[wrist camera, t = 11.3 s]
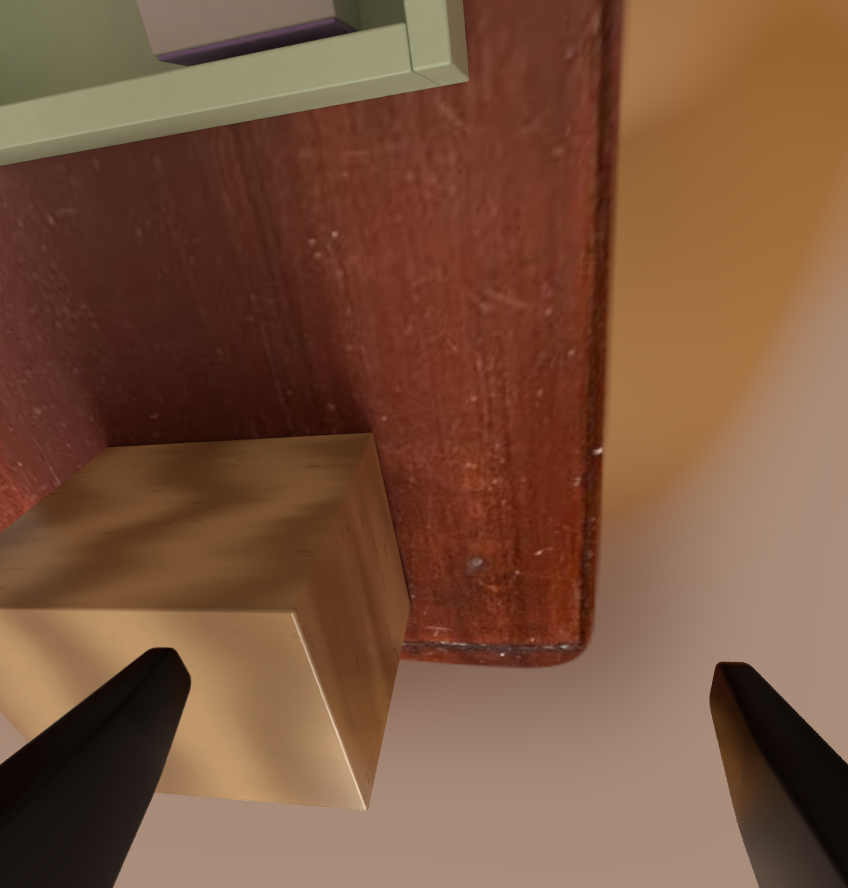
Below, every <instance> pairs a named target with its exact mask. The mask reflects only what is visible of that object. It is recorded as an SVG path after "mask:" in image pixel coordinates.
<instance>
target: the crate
mask: <svg viewBox="0 0 848 888" xmlns="http://www.w3.org/2000/svg"><path fill="white" fill-rule="evenodd" d="M409 611H410V601H409V596H408V592H407V587H406V583H405V578H404V573H403V569H402V564H401V559H400V555H399V550H398V546H397V541H396V536H395V532H394V527H393V522H392V518H391V513H390V509H389V504H388V499H387V495H386V490H385V485H384V481H383V476H382V472H381V467H380V462H379V458H378V453H377V448H376V444H375V439H374V435H373V433H355V434H337V435H319V436H301V437H283V438H265V439H248V440H230V441H212V442H194V443H176V444H158V445H140V446H122V447H107V448H106V449H104V450H103V451H102V452H101V453H99V454H98V455H97V456H96V457H95V458H93V459H92V460H91V461H90V462H88V463H87V464H86V465H85V466H83V467H82V468H81V469H80V470H78V471H77V472H76V473H75V474H73V475H72V476H71V477H70V478H68V479H67V480H66V481H65V482H63V483H62V484H61V485H60V486H59V487H57V488H56V489H55V490H54V491H52V492H51V493H50V494H49V495H47V496H46V497H45V498H44V499H42V500H41V501H40V502H39V503H37V504H36V505H35V506H34V507H32V508H31V509H30V510H29V511H28V512H26V513H25V514H24V515H23V516H21V517H20V518H19V519H18V520H16V521H15V522H14V523H13V524H11V525H10V526H9V527H8V528H6V529H5V530H4V531H3V532H1V533H0V712H1V713H2V714H3V715H4V716H5V717H6V718H7V720H8V721H9V722H10V723H11V724H12V725H13V726H14V727H15V728H16V730H17V731H18V732H19V733H20V734H21V735H22V736H23V738H24V739H25V740H26V741H27V742H28V743H29V742H30V741H31V740H32V739H34V738H35V737H36V736H38V735H39V734H40V733H41V732H43V731H44V730H45V729H47V728H48V727H49V726H50V725H52V724H53V723H54V722H56V721H57V720H58V719H59V718H61V717H62V716H63V715H65V714H66V713H67V712H68V711H70V710H71V709H72V708H74V707H75V706H76V705H77V704H79V703H80V702H81V701H83V700H84V699H85V698H86V697H88V696H89V695H90V694H92V693H93V692H94V691H95V690H97V689H98V688H99V687H101V686H102V685H103V684H104V683H106V682H107V681H108V680H110V679H111V678H112V677H113V676H115V675H116V674H117V673H119V672H120V671H121V670H122V669H124V668H125V667H126V666H128V665H129V664H130V663H131V662H133V661H134V660H135V659H137V658H138V657H139V656H140V655H142V654H143V653H144V652H146V651H147V650H149V649H151V648H154V647H170V648H174V649H175V650H176V651H177V652H178V653H179V655H180V657H181V659H182V661H183V662H184V664H185V666H186V668H187V670H188V671H189V673H190V675H191V689H190V693H189V696H188V699H187V702H186V705H185V708H184V711H183V714H182V717H181V720H180V723H179V726H178V728H177V731H176V734H175V737H174V740H173V743H172V746H171V749H170V752H169V755H168V758H167V761H166V764H165V767H164V769H163V772H162V775H161V778H160V780H159V783H158V785H157V787H156V790H155V793H167V794H178V795H190V796H202V797H213V798H225V799H237V800H248V801H261V802H272V803H283V804H295V805H307V806H319V807H330V808H342V809H354V810H368V807H369V802H370V797H371V793H372V788H373V783H374V778H375V773H376V769H377V764H378V759H379V754H380V749H381V745H382V740H383V735H384V730H385V726H386V721H387V716H388V711H389V706H390V702H391V697H392V692H393V687H394V682H395V678H396V673H397V668H398V663H399V659H400V654H401V649H402V644H403V639H404V635H405V630H406V625H407V620H408V615H409Z"/></svg>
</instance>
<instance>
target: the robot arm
mask: <svg viewBox="0 0 848 888" xmlns="http://www.w3.org/2000/svg"><path fill="white" fill-rule="evenodd" d="M190 689H191V675H190V673H189V671H188V670H187V668H186V666H185V664H184V662H183V661H182V659H181V657H180V655H179V653H178V652H177V651H176V650H175V649H174V648H170V647H154V648H151V649H149V650H147V651H146V652H144V653H143V654H142V655H140V656H139V657H138V658H137V659H135V660H134V661H133V662H131V663H130V664H129V665H128V666H126V667H125V668H124V669H122V670H121V671H120V672H119V673H117V674H116V675H115V676H113V677H112V678H111V679H110V680H108V681H107V682H106V683H104V684H103V685H102V686H101V687H99V688H98V689H97V690H95V691H94V692H93V693H92V694H90V695H89V696H88V697H86V698H85V699H84V700H83V701H81V702H80V703H79V704H77V705H76V706H75V707H74V708H72V709H71V710H70V711H68V712H67V713H66V714H65V715H63V716H62V717H61V718H59V719H58V720H57V721H56V722H54V723H53V724H52V725H50V726H49V727H48V728H47V729H45V730H44V731H43V732H41V733H40V734H39V735H38V736H36V737H35V738H34V739H32V740H31V741H30V742H29V743H27V744H26V745H25V746H24V747H22V748H21V749H20V750H19V751H17V752H16V753H15V754H13V755H12V756H11V757H9V758H8V759H7V760H6V761H4V762H3V763H2V764H0V888H113V886H114V884H115V882H116V879H117V877H118V875H119V872H120V870H121V868H122V865H123V863H124V861H125V859H126V856H127V854H128V852H129V850H130V847H131V845H132V843H133V840H134V838H135V836H136V834H137V831H138V829H139V827H140V824H141V822H142V820H143V818H144V815H145V813H146V810H147V808H148V806H149V804H150V802H151V799H152V797H153V794H154V792H155V790H156V787H157V785H158V783H159V780H160V778H161V775H162V772H163V769H164V767H165V764H166V761H167V758H168V755H169V752H170V749H171V746H172V743H173V740H174V737H175V734H176V731H177V728H178V726H179V723H180V720H181V717H182V714H183V711H184V708H185V705H186V702H187V699H188V696H189V693H190ZM710 709H711V714H712V719H713V723H714V727H715V731H716V735H717V740H718V743H719V748H720V752H721V757H722V761H723V765H724V769H725V774H726V778H727V782H728V786H729V790H730V795H731V799H732V803H733V807H734V811H735V815H736V819H737V823H738V826H739V829H740V832H741V835H742V839H743V842H744V845H745V848H746V851H747V854H748V856H749V859H750V862H751V865H752V868H753V870H754V873H755V877H756V880H757V883H758V885H759V888H848V764H847V763H846V762H845V761H844V760H843V759H842V758H841V757H840V756H839V755H838V754H837V753H836V752H835V751H834V750H833V749H832V748H831V747H830V746H829V745H828V744H827V743H826V742H825V741H824V740H823V739H822V738H821V736H819V734H818V733H816V731H814V729H813V728H812V727H811V726H810V725H809V724H808V723H807V722H806V721H805V720H804V719H803V718H802V717H801V716H800V715H799V714H798V713H797V712H796V711H795V710H794V709H793V708H792V707H791V706H790V705H789V704H788V703H787V702H786V701H785V700H784V699H783V698H782V697H781V696H780V695H779V694H778V693H777V692H776V690H775V689H774V688H773V687H772V686H771V685H770V684H769V683H768V682H767V681H766V680H765V679H764V678H763V677H762V676H761V675H760V674H759V673H758V672H757V671H756V670H755V669H754V668H753V667H752V666H750V665H749V664H747V663H744V662H719V663H718V664H717V665H716V667H715V672H714V676H713V681H712V686H711V692H710Z"/></svg>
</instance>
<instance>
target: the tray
mask: <svg viewBox="0 0 848 888" xmlns="http://www.w3.org/2000/svg"><path fill="white" fill-rule="evenodd" d="M357 1H358V7H359V13H360V20H361V26H362V31H358V32H353V33H348V34H344V35H339V36H334V37H329V38H324V39H319V40H315V41H310V42H305V43H300V44H295V45H290V46H286V47H281V48H276V49H271V50H266V51H261V52H257V53H252V54H247V55H242V56H237V57H232V58H228V59H223V60H218V61H213V62H208V63H203V64H199V65H194V66H189V67H188V66H183V65H177V64H172V63H167V62H161V61H159V60H158V58H157V57H155V56H154V55H153V53H152V50H151V47H150V44H149V41H148V38H147V34H146V31H145V28H144V25H143V22H142V19H141V16H140V13H139V10H138V6H137V3H136V0H0V166H2V165H7V164H13V163H18V162H24V161H29V160H35V159H40V158H46V157H51V156H57V155H63V154H68V153H74V152H79V151H85V150H90V149H96V148H101V147H107V146H112V145H118V144H123V143H129V142H135V141H140V140H146V139H151V138H157V137H162V136H168V135H173V134H179V133H184V132H190V131H195V130H201V129H206V128H212V127H218V126H223V125H229V124H234V123H240V122H245V121H251V120H256V119H262V118H267V117H273V116H278V115H284V114H289V113H295V112H301V111H306V110H312V109H317V108H323V107H328V106H334V105H339V104H345V103H350V102H356V101H361V100H367V99H373V98H378V97H384V96H389V95H395V94H400V93H406V92H411V91H417V90H422V89H428V88H433V87H439V86H444V85H450V84H456V83H461V82H467V81H469V70H468V58H467V45H466V33H465V21H464V9H463V0H357Z"/></svg>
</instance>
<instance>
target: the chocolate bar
mask: <svg viewBox="0 0 848 888" xmlns="http://www.w3.org/2000/svg"><path fill="white" fill-rule="evenodd" d="M136 3H137V6H138V10H139V13H140V16H141V19H142V22H143V25H144V28H145V31H146V34H147V38H148V41H149V44H150V47H151V50H152V53H153V55H154V56H155V57H157V58H158V60H159V61H161V62H167V63H172V64H177V65H183V66H188V67H189V66H194V65H199V64H203V63H208V62H213V61H218V60H223V59H228V58H232V57H237V56H242V55H247V54H252V53H257V52H261V51H266V50H271V49H276V48H281V47H286V46H290V45H295V44H300V43H305V42H310V41H315V40H319V39H324V38H329V37H334V36H339V35H344V34H348V33H353V32H358V31H362V26H361V20H360V13H359V7H358V1H357V0H136Z"/></svg>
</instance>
